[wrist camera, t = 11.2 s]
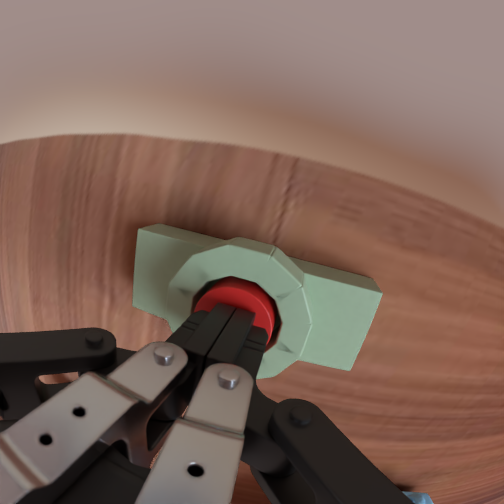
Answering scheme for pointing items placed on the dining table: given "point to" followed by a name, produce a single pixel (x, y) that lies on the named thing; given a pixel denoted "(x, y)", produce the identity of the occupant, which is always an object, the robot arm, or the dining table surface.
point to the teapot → (418, 497)
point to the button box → (268, 278)
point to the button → (242, 300)
